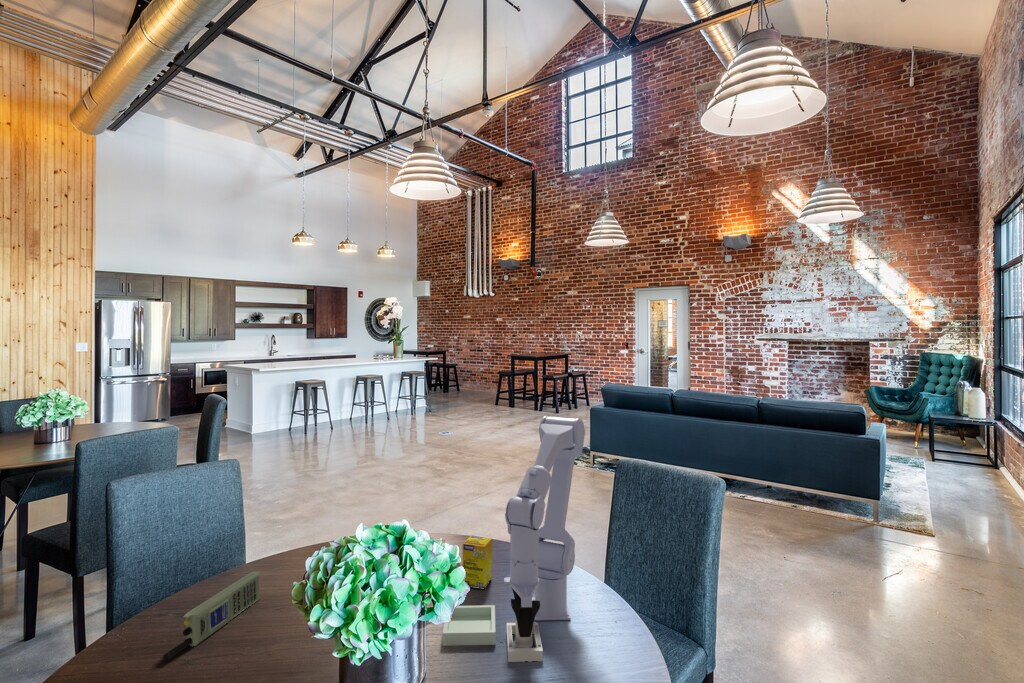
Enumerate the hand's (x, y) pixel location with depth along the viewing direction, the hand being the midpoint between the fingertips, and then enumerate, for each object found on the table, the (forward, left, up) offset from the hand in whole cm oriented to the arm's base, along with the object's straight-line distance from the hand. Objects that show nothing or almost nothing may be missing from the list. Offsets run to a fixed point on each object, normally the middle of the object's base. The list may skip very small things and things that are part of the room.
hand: (523, 625), depth 102 cm
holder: (0, 0, -4) cm, 4 cm away
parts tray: (-6, -11, -4) cm, 13 cm away
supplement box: (-27, -10, -5) cm, 29 cm away
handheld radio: (-9, -65, -5) cm, 66 cm away
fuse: (0, 0, -4) cm, 4 cm away
